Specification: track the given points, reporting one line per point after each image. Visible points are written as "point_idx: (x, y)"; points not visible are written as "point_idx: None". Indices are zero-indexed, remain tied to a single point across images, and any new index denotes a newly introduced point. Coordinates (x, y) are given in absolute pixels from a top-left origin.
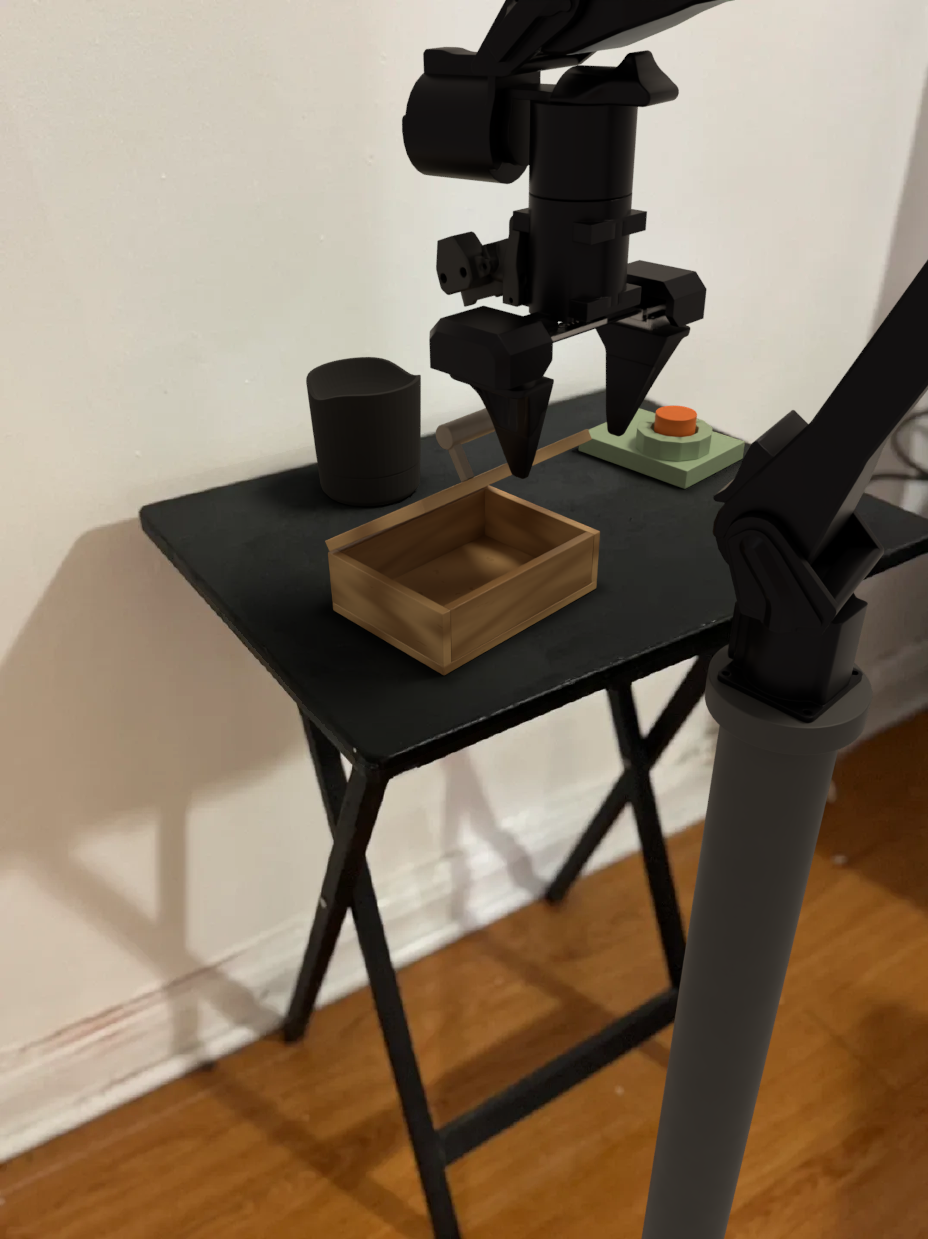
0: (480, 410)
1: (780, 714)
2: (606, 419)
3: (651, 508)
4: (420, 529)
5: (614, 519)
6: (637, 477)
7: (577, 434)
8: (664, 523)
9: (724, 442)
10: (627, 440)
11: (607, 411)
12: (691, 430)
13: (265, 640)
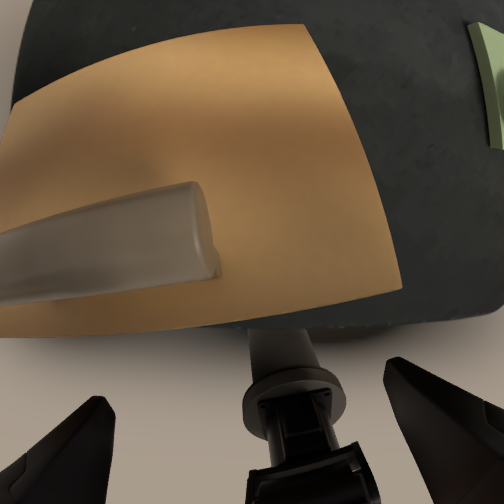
0: (50, 260)
1: (260, 430)
2: (400, 371)
3: (455, 146)
4: None
5: (421, 133)
6: (479, 98)
7: (366, 296)
8: (445, 176)
9: None
10: (501, 67)
11: (407, 388)
12: None
13: None
